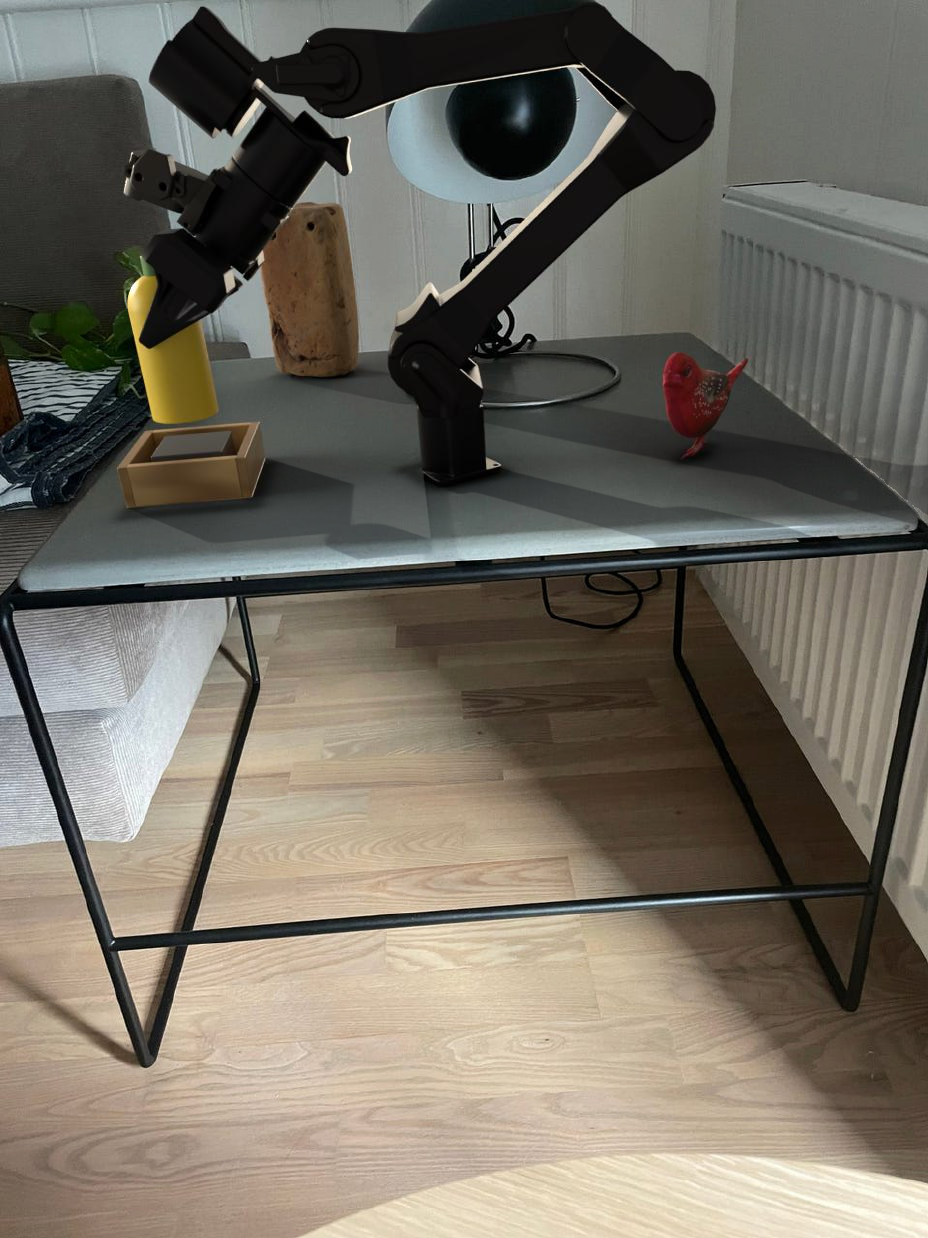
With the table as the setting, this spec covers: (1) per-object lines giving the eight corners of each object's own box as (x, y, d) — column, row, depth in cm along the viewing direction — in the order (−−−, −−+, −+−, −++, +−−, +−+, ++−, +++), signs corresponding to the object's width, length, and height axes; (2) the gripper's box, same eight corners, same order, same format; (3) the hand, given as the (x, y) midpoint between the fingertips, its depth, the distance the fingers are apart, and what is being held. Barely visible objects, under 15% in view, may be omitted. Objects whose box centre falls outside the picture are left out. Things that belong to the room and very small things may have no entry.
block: (368, 365, 124) (350, 199, 114) (349, 380, 117) (328, 205, 108) (291, 365, 126) (267, 203, 117) (268, 380, 120) (241, 209, 110)
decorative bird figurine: (644, 474, 81) (648, 357, 77) (728, 419, 93) (736, 315, 89) (675, 479, 80) (680, 360, 75) (757, 423, 92) (766, 317, 87)
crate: (266, 465, 90) (259, 421, 88) (253, 505, 81) (244, 457, 79) (155, 474, 90) (144, 430, 87) (128, 516, 80) (116, 467, 78)
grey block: (238, 467, 87) (231, 430, 86) (228, 489, 82) (221, 451, 80) (172, 472, 87) (164, 435, 86) (159, 495, 82) (150, 456, 80)
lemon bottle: (227, 404, 84) (198, 248, 78) (205, 423, 79) (172, 257, 73) (167, 406, 85) (134, 251, 79) (142, 425, 80) (104, 261, 74)
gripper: (201, 106, 79) (103, 255, 84) (141, 104, 63) (23, 289, 68) (308, 201, 83) (207, 338, 88) (277, 222, 66) (156, 390, 72)
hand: (153, 337), depth 79 cm, fingers closed on lemon bottle, 5 cm apart
